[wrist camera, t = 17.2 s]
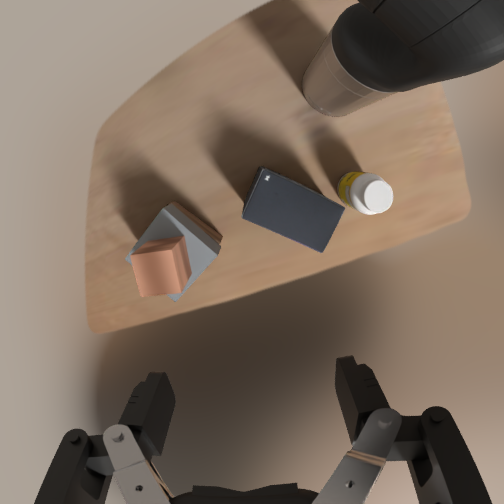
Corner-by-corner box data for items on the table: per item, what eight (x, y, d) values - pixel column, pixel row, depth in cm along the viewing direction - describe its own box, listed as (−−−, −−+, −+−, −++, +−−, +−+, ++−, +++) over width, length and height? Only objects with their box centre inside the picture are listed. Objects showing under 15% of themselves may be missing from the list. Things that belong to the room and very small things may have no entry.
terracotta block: (184, 235, 36) (171, 249, 30) (191, 273, 37) (181, 293, 31) (147, 241, 36) (129, 255, 30) (156, 277, 37) (140, 296, 32)
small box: (241, 205, 42) (237, 219, 32) (259, 164, 40) (262, 165, 30) (306, 234, 43) (322, 256, 33) (325, 195, 42) (347, 205, 32)
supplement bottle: (367, 168, 40) (396, 172, 31) (371, 203, 42) (400, 215, 32) (333, 173, 41) (356, 177, 31) (338, 209, 42) (361, 222, 33)
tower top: (171, 203, 38) (163, 207, 35) (221, 246, 40) (217, 255, 36) (135, 250, 40) (125, 259, 37) (182, 289, 42) (175, 302, 38)
